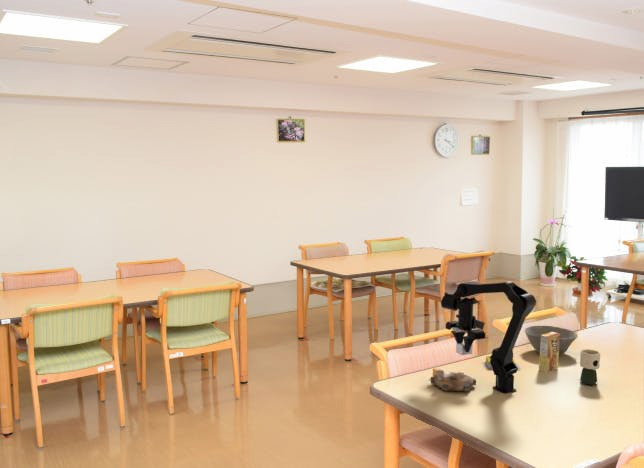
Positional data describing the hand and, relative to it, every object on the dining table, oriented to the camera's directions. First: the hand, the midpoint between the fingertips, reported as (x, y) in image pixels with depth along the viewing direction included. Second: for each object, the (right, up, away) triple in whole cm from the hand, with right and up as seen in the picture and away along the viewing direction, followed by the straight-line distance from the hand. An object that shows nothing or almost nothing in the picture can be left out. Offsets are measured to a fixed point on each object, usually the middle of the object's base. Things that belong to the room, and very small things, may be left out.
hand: (464, 350), depth 246 cm
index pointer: (-11, -11, 0) cm, 15 cm away
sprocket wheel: (-6, -12, -9) cm, 17 cm away
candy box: (+39, -10, +12) cm, 42 cm away
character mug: (+49, -12, -4) cm, 50 cm away
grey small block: (0, -1, 0) cm, 1 cm away
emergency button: (+20, -10, +16) cm, 27 cm away
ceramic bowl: (+48, -8, +35) cm, 60 cm away
